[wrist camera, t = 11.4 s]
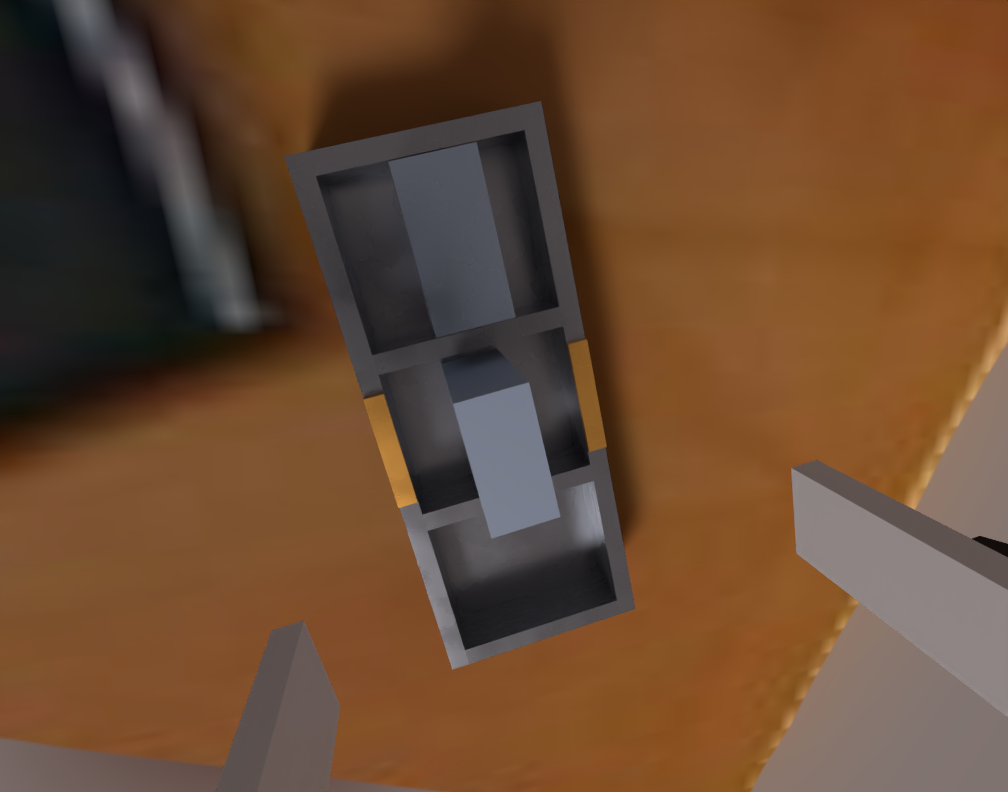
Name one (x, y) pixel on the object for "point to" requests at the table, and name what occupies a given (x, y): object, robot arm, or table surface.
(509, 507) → the block
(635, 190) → the table surface
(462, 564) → the rack
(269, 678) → the robot arm
